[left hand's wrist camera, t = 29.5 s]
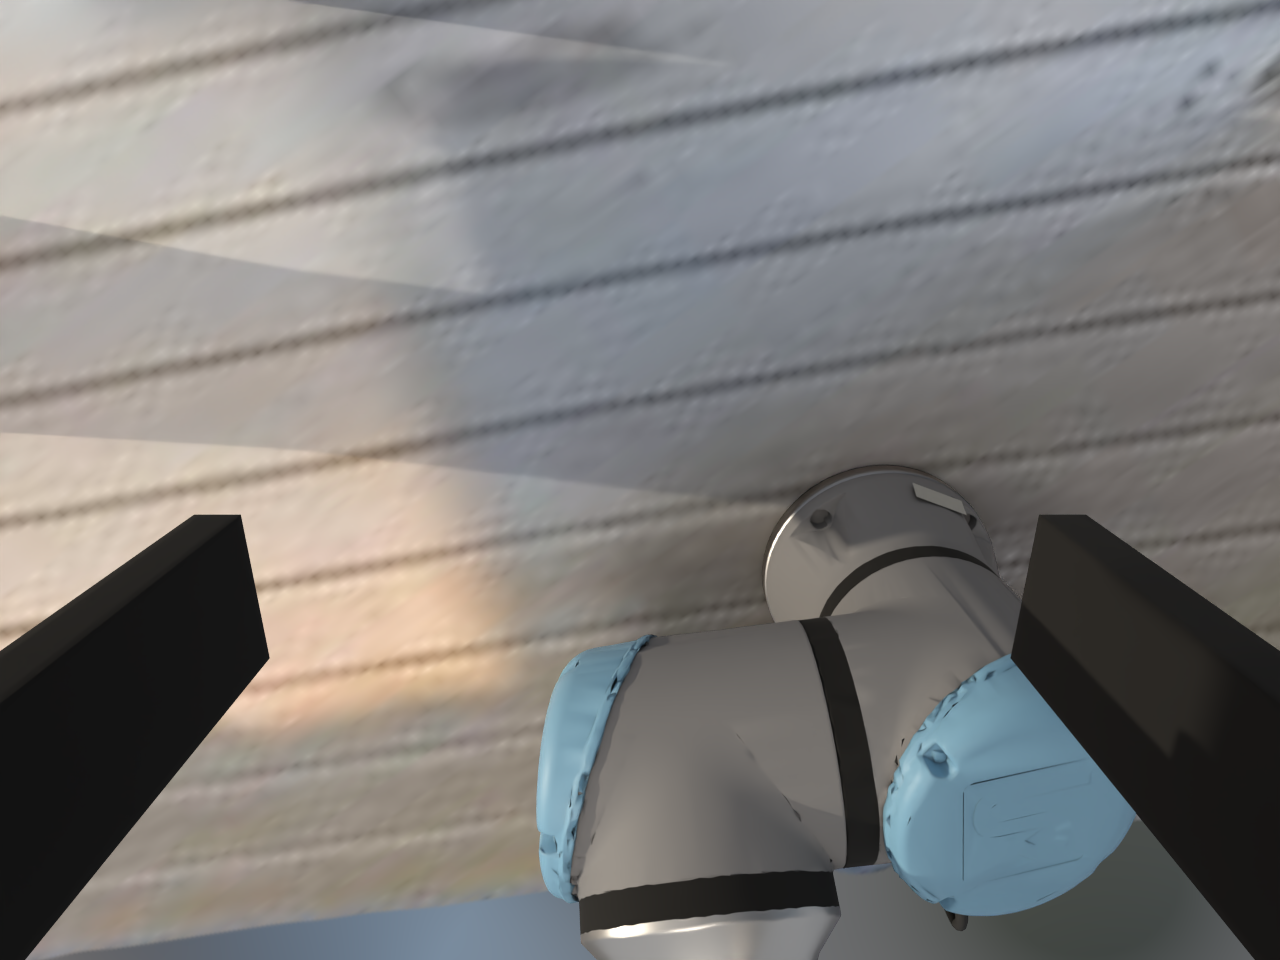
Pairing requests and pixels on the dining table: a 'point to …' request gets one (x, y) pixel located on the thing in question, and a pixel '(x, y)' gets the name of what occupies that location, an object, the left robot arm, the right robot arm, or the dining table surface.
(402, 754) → the dining table surface
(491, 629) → the dining table surface
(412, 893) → the dining table surface
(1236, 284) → the dining table surface
